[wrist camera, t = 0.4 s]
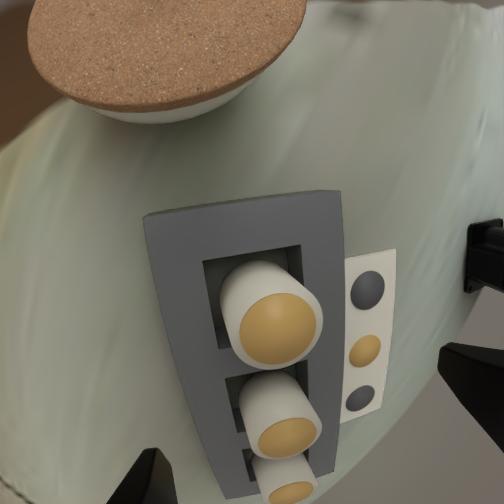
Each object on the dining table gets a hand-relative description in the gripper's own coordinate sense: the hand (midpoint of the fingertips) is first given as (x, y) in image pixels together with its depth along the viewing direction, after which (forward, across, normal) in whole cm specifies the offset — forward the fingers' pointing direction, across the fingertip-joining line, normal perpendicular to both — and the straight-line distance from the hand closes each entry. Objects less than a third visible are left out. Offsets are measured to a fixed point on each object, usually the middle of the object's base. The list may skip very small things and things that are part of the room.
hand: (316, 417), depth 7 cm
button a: (+9, 0, 0) cm, 9 cm away
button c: (+9, +1, +14) cm, 16 cm away
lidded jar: (+11, +1, -15) cm, 18 cm away
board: (+11, +1, +7) cm, 13 cm away
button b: (+9, +1, +7) cm, 11 cm away
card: (+11, -7, +8) cm, 15 cm away
